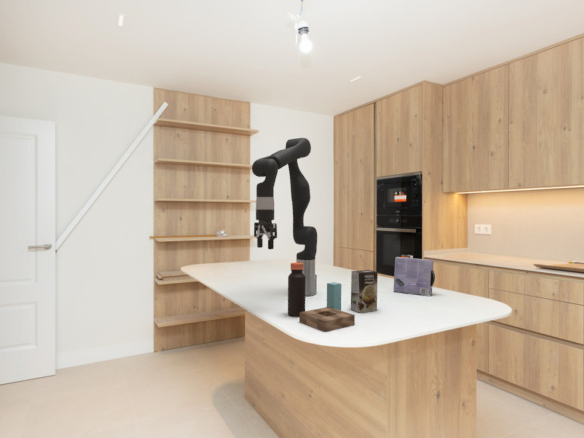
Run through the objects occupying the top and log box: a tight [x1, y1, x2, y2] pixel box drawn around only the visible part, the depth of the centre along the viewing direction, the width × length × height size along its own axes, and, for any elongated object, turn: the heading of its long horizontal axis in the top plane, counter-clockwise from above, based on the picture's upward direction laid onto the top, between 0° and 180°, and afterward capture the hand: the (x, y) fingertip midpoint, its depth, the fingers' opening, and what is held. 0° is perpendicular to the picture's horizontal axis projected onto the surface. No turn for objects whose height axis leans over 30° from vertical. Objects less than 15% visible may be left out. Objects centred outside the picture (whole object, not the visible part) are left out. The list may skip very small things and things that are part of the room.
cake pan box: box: [393, 256, 436, 296], centre depth 187 cm, size 19×5×18 cm, turn 58°
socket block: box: [298, 306, 356, 333], centre depth 134 cm, size 14×14×4 cm
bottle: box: [287, 262, 306, 318], centre depth 146 cm, size 7×7×20 cm
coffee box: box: [350, 269, 379, 314], centre depth 153 cm, size 9×6×16 cm
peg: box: [326, 281, 342, 311], centre depth 147 cm, size 4×4×12 cm
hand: (265, 248), depth 152 cm, fingers open, 8 cm apart
